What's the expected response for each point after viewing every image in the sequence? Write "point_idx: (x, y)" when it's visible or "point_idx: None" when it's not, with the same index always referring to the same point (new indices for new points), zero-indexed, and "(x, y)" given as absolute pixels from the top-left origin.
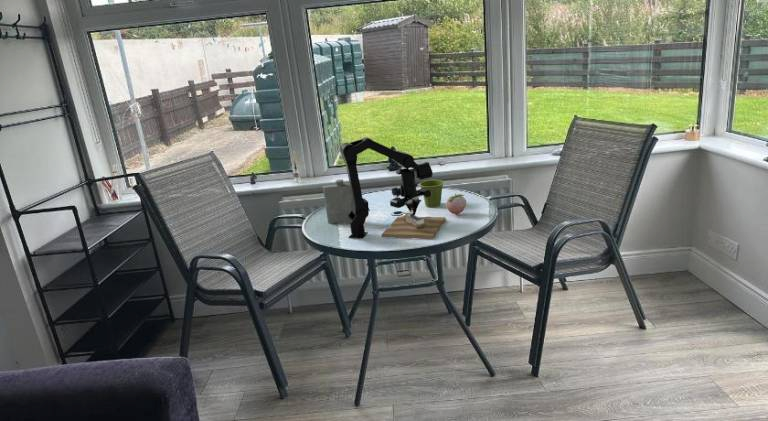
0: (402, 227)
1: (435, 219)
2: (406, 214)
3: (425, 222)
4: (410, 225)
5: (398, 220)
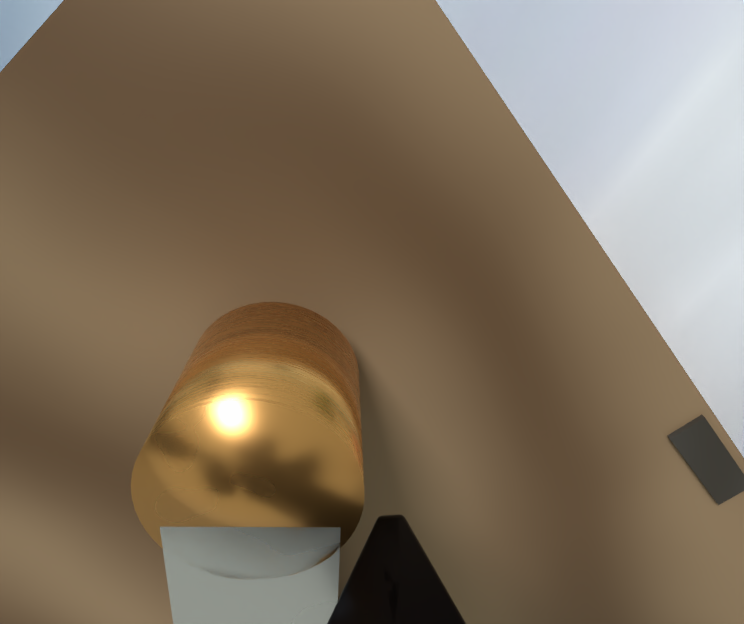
0: (30, 572)
1: (694, 610)
2: (207, 549)
3: (486, 618)
4: None
5: (122, 154)
